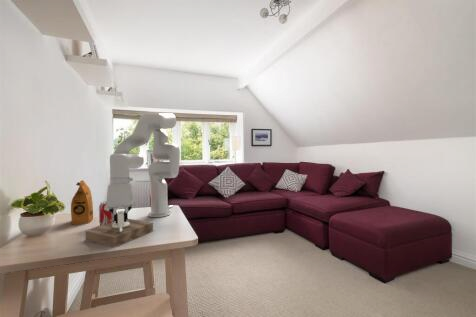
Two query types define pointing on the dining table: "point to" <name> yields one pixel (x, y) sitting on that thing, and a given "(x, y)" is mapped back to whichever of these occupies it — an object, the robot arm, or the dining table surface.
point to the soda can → (105, 215)
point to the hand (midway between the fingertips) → (120, 221)
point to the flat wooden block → (118, 233)
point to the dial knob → (121, 221)
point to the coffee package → (82, 205)
